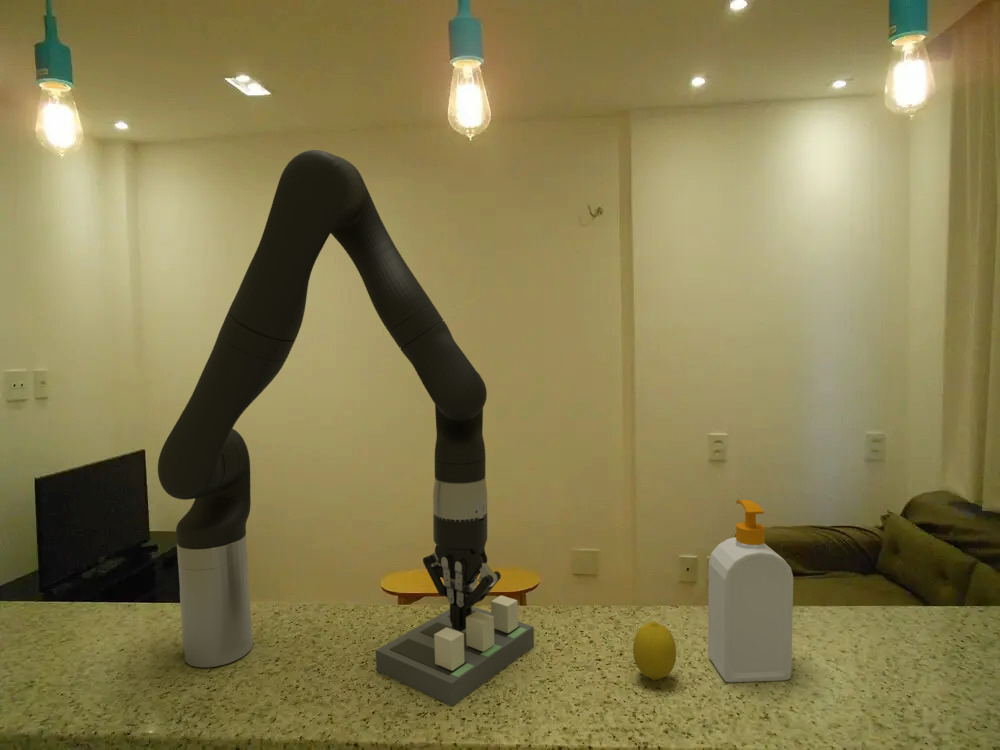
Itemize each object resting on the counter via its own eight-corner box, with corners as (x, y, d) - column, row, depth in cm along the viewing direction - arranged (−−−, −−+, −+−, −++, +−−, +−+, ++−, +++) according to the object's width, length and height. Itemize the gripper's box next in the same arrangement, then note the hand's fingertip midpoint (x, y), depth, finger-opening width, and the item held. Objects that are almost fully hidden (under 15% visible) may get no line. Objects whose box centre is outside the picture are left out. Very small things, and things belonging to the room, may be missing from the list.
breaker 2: (491, 627, 94) (491, 601, 94) (501, 621, 96) (501, 595, 96) (508, 633, 93) (507, 606, 92) (518, 626, 95) (517, 600, 94)
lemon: (677, 693, 83) (677, 633, 82) (633, 689, 84) (632, 630, 83) (674, 670, 88) (674, 613, 87) (633, 666, 89) (632, 611, 89)
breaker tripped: (466, 645, 90) (465, 617, 89) (477, 638, 91) (476, 610, 91) (483, 651, 88) (482, 623, 87) (494, 644, 90) (493, 616, 89)
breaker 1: (435, 663, 85) (434, 634, 85) (447, 655, 87) (446, 627, 86) (452, 670, 83) (451, 641, 83) (464, 662, 85) (463, 633, 85)
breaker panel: (376, 670, 90) (375, 649, 89) (461, 620, 104) (461, 602, 104) (452, 706, 81) (451, 682, 81) (533, 646, 95) (533, 626, 95)
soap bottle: (768, 653, 92) (771, 495, 90) (791, 680, 85) (795, 510, 83) (705, 655, 92) (706, 497, 90) (723, 683, 85) (725, 512, 83)
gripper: (407, 506, 91) (408, 624, 93) (480, 525, 83) (480, 654, 85) (443, 494, 97) (444, 605, 99) (514, 511, 89) (514, 631, 91)
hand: (460, 627), depth 92 cm, fingers closed
